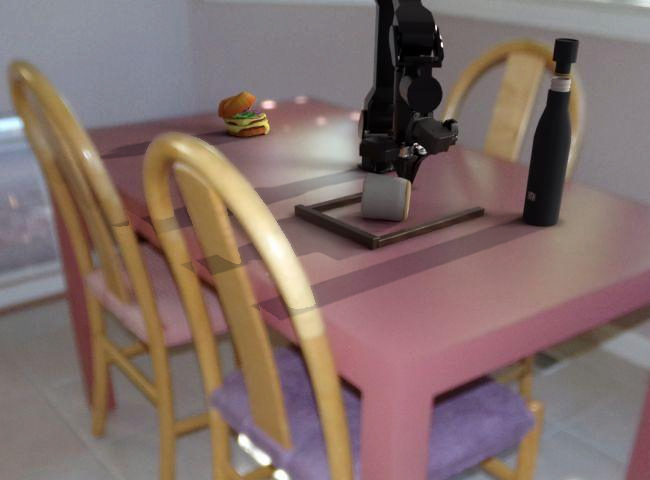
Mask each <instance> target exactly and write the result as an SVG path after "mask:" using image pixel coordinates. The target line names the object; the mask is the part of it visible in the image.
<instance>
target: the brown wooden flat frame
mask: <svg viewBox="0 0 650 480" xmlns="http://www.w3.org/2000/svg"><path fill="white" fill-rule="evenodd" d="M361 201H362V191H360V192H357V193H353V194H349V195H348V194H347V195H345V196H340V197H337V198H333V199H329V200H324V201H321V202H317V203H312V204H308V205H304V204H302V203H300V204H296V205H294V206H293V207H294V216H295V217H296V218H297V217H298V218H300V219H302V220H303V221H306V222H308V223H311V224H313V225H315V226H318V227H320V228H322V229H324V230H327V231H329V232H331V233H334V234H336V235H338V236H341V237H343V238H345V239H348V240H350V241H352V242H354V243H357V244H359V245H361V246H364V247H366V248H368V249H370V250H376V249H379V248H382V247H386V246H389V245H392V244H395V243H398V242H402V241H404V240H408V239H412V238H414V237H418V236H421V235H423V234H427V233H430V232H434V231H437V230H440V229H442V228H445V227H449V226H452V225H455V224H456V225H457V224H459V223H461V222H465V221H468V220H471V219H474V218H477V217H481V216H484V215H485V210H486V208H485V207H482V206H475V207H471V208H468V209H465V210H462V211H459V212H455V213H452V214H449V215H445V216H442V217H438V218H435V219H432V220H429V221H425V222H422V223H419V224H415V225H412V226H409V227H405V228H402V229H399V230H395V231H392V232H388V233H386V234H383V235H379V236H378V235H376V234H373V233H372V232H369V231H366V230H363V229H361V228H359V227H356V226H354V225H352V224H349V223H347V222H344V221H343V220H340V219H337V218H335V217H332V216H331V215H328V214H325V213H323V212H327V211H330V210H334V209H338V208H342V207H347V206H350V205H354V204H357V203H361Z"/></svg>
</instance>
